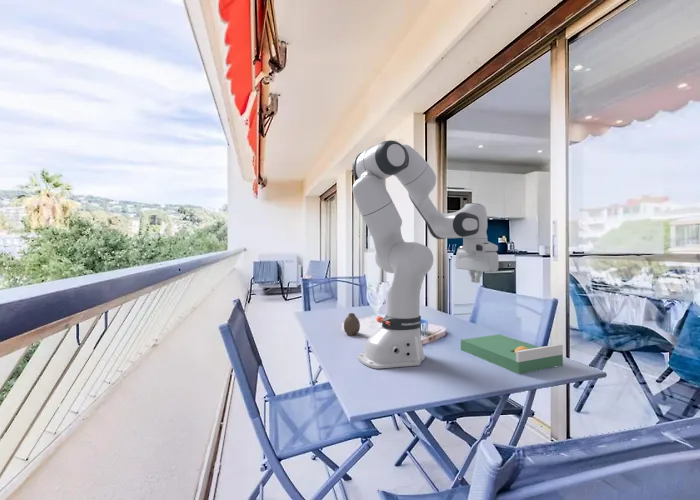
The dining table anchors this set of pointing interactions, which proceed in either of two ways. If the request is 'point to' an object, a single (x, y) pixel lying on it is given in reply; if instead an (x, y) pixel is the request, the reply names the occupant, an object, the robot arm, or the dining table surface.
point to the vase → (351, 324)
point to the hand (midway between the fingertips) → (475, 282)
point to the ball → (520, 348)
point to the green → (520, 362)
